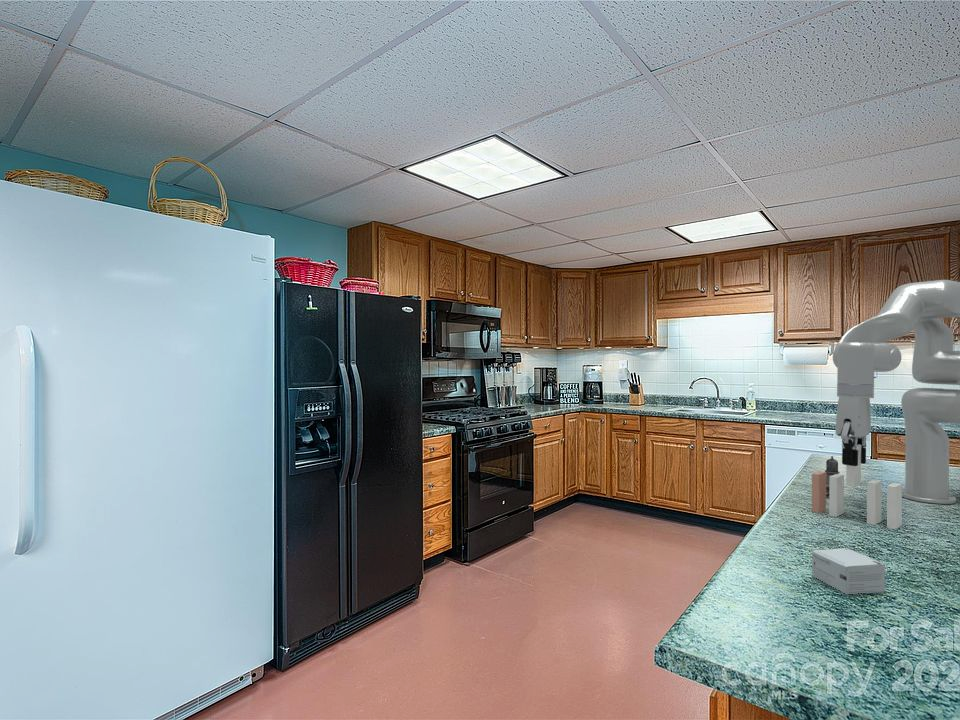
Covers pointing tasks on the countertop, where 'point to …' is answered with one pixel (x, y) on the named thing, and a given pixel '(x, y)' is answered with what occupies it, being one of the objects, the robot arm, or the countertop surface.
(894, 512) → the domino
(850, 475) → the domino
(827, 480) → the dark grey ornamental finial
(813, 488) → the end domino
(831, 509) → the domino
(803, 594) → the countertop surface
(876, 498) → the domino
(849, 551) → the small box
